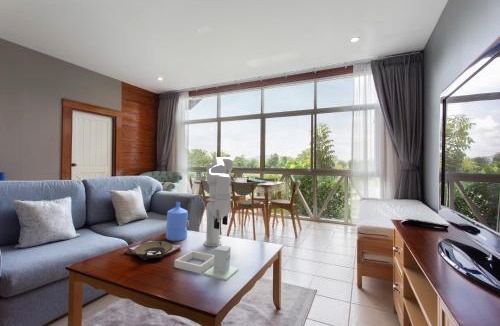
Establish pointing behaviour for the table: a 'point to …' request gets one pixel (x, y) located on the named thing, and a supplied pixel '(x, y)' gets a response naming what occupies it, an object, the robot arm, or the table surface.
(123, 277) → the table surface
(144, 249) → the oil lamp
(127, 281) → the table surface
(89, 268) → the table surface
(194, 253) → the bin
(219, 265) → the supplement box
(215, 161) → the robot arm
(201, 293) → the table surface
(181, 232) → the water jug
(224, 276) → the pad
